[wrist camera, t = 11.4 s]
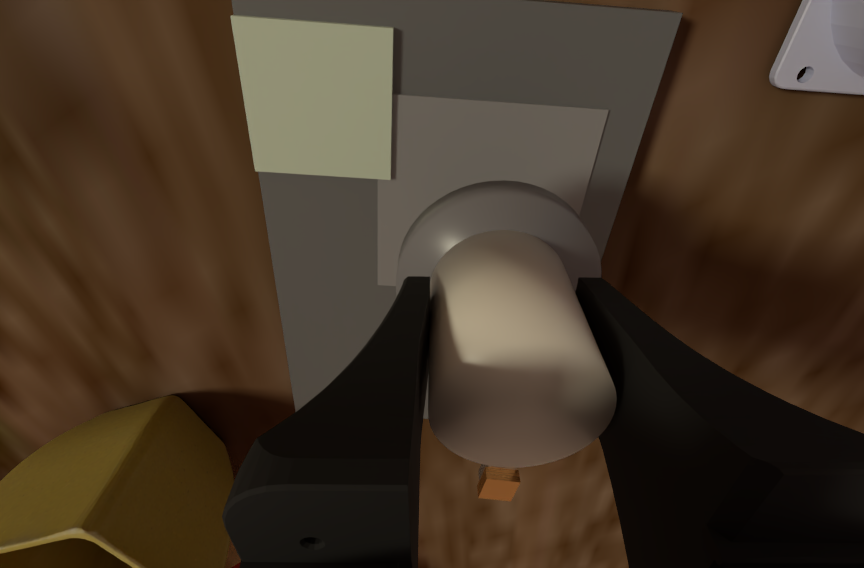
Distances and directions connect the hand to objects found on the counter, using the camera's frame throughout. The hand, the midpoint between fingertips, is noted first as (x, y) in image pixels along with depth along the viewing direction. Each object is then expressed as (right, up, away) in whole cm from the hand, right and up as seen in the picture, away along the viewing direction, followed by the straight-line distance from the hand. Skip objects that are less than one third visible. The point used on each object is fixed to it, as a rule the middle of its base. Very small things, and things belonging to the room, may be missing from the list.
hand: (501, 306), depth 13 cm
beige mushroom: (0, +1, +1) cm, 2 cm away
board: (-2, +2, +8) cm, 8 cm away
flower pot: (-18, -8, +15) cm, 24 cm away
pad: (-6, +7, +4) cm, 10 cm away
